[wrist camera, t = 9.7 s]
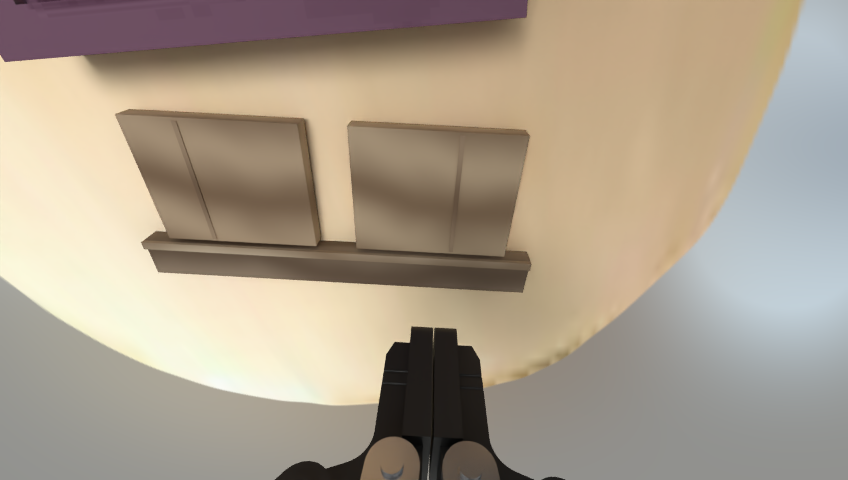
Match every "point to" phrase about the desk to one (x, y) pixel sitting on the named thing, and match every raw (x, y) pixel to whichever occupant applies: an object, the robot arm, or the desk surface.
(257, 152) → the plank
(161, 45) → the purple gear tray
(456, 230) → the plank
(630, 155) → the desk surface
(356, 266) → the strip
